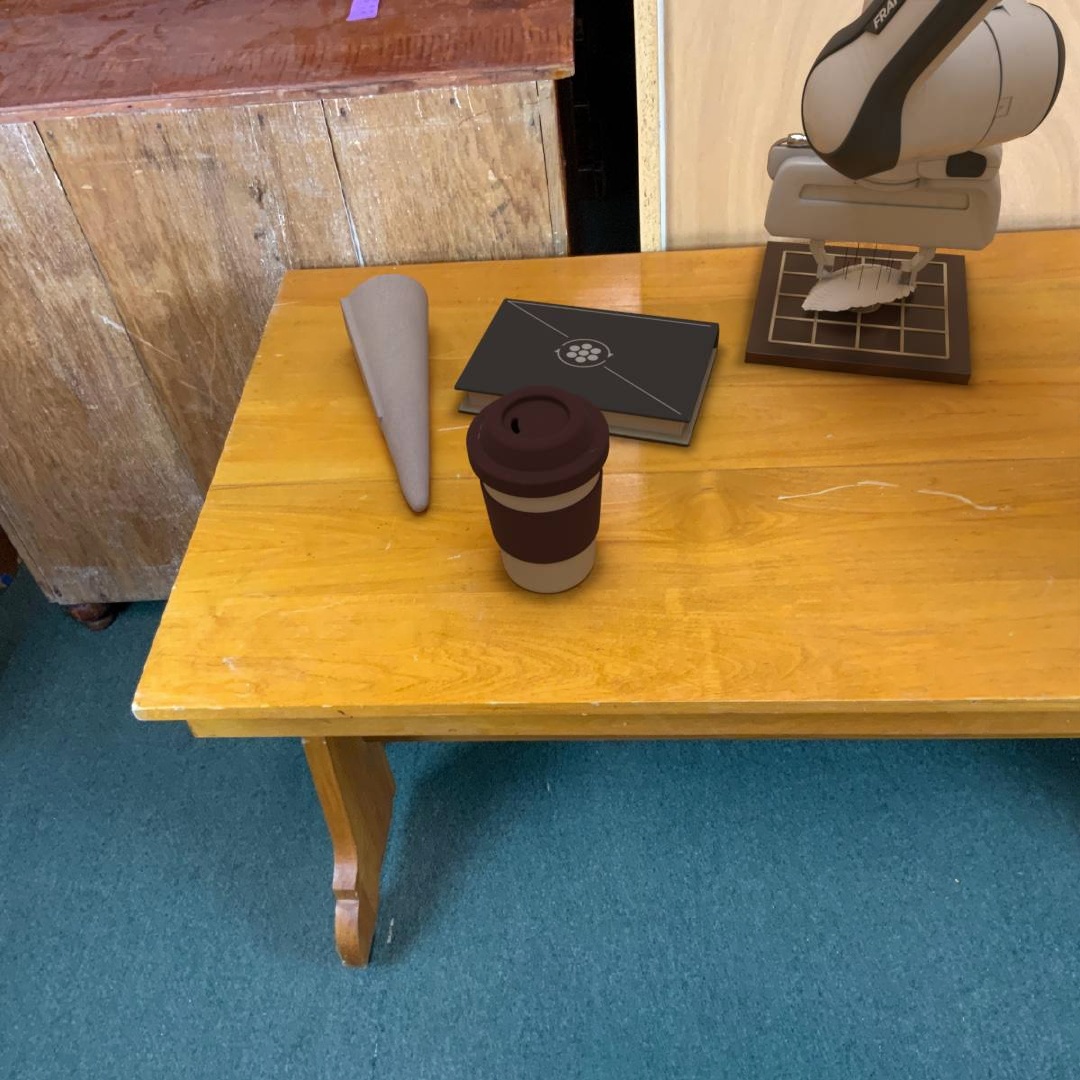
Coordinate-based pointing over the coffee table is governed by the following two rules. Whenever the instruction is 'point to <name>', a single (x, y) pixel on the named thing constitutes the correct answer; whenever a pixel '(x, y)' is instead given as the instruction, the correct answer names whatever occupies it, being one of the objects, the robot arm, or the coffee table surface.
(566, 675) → the coffee table surface
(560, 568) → the coffee cup
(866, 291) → the pincushion
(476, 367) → the book
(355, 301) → the grey tapered cone
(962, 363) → the board
